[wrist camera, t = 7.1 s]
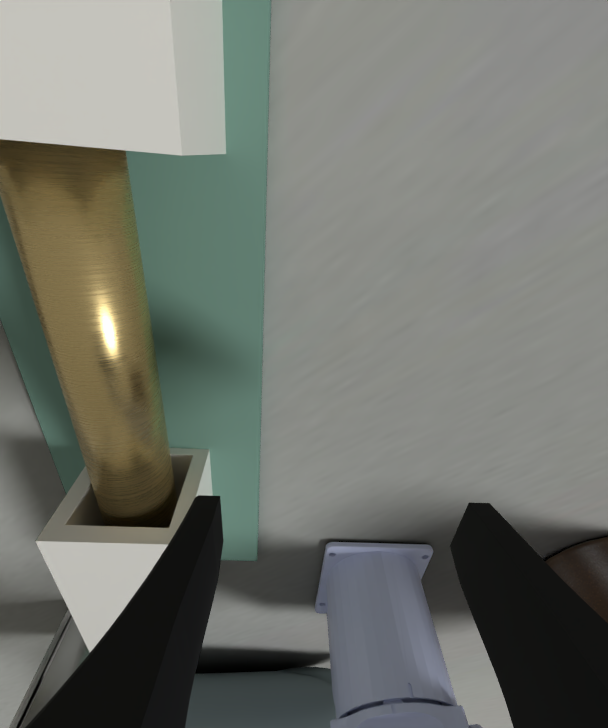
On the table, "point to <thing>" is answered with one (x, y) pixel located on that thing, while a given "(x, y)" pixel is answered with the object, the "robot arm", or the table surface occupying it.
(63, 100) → the socket
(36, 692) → the white tall cylinder
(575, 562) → the plant pot
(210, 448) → the mat
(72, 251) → the tube
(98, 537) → the sleeve
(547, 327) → the table surface
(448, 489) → the table surface
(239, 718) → the pencil case
